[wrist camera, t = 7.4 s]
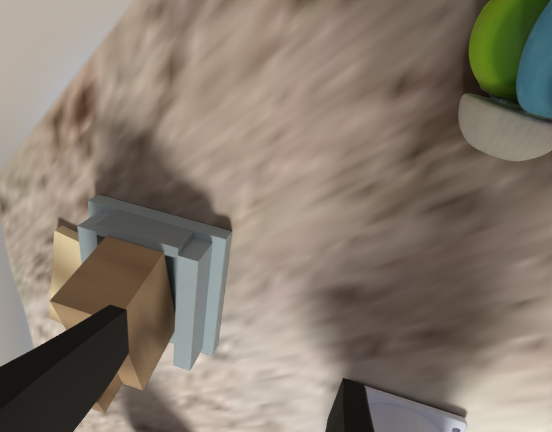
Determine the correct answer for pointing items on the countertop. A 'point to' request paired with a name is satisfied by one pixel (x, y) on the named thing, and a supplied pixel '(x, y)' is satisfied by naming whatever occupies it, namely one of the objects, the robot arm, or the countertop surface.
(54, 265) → the plank
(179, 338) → the jig
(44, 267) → the countertop surface
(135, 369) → the tan pegged block
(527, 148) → the rainbow segmented toy
